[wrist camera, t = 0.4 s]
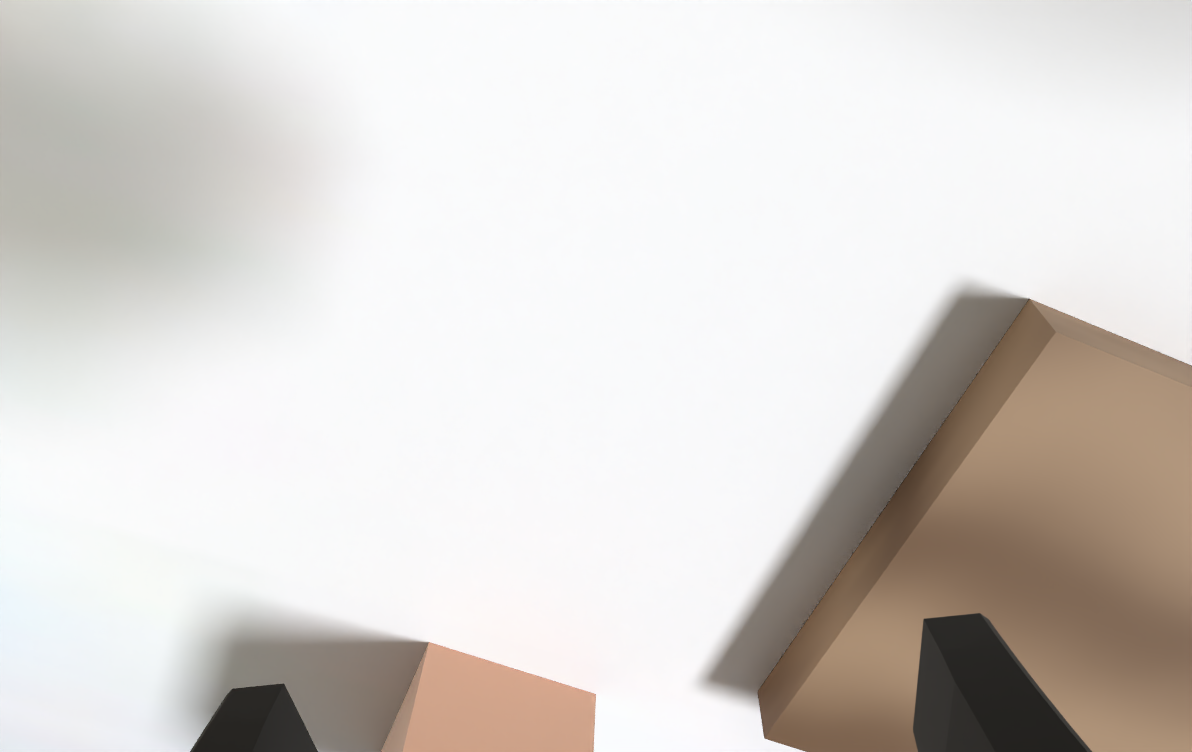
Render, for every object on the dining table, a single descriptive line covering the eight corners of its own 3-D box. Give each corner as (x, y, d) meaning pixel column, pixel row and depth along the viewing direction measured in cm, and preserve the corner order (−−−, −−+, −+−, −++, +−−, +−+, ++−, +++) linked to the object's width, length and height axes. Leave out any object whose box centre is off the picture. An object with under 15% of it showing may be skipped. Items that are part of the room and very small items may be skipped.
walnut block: (1143, 802, 28) (1177, 868, 26) (755, 676, 26) (764, 738, 24) (1481, 478, 23) (1553, 534, 21) (1020, 287, 21) (1056, 332, 19)
